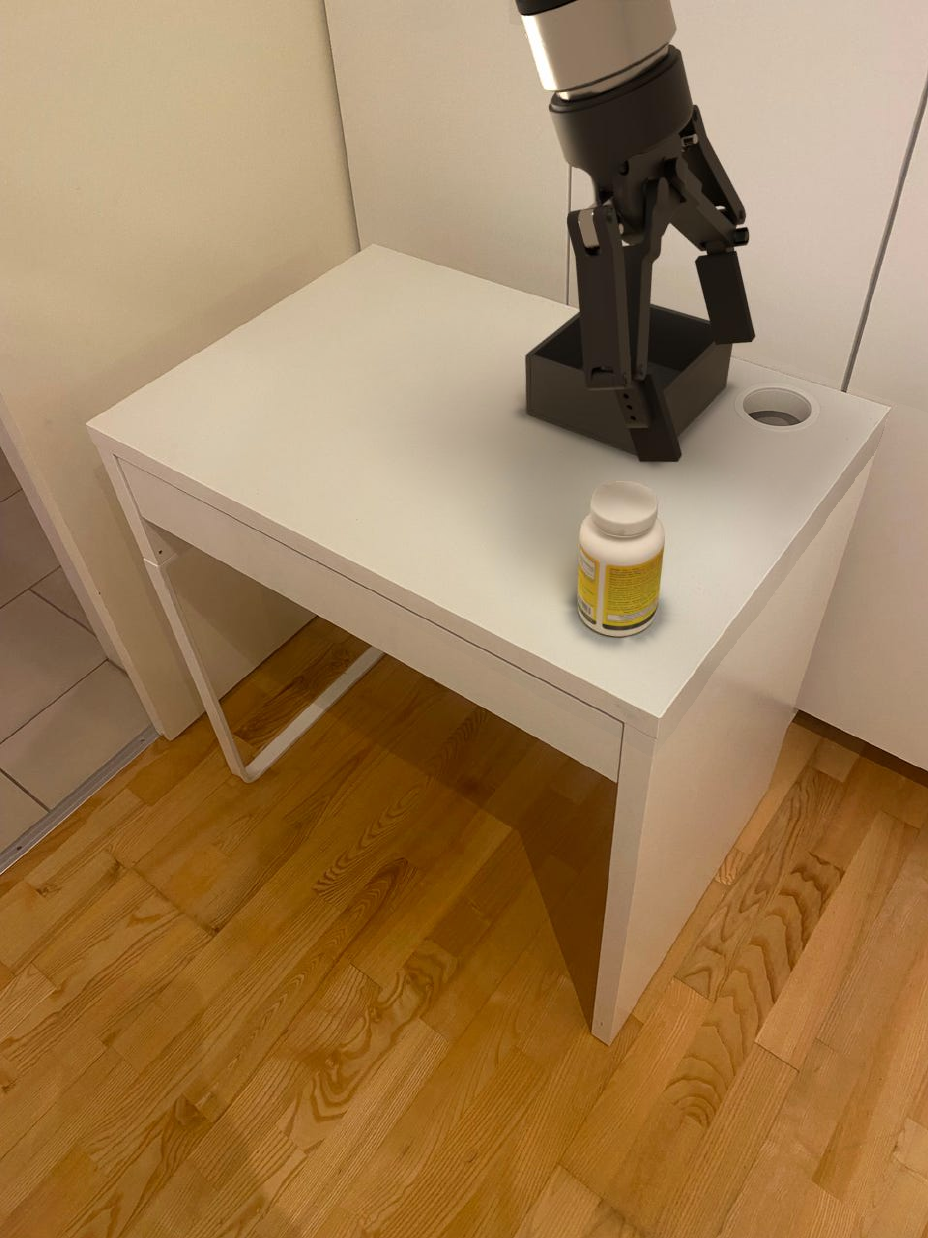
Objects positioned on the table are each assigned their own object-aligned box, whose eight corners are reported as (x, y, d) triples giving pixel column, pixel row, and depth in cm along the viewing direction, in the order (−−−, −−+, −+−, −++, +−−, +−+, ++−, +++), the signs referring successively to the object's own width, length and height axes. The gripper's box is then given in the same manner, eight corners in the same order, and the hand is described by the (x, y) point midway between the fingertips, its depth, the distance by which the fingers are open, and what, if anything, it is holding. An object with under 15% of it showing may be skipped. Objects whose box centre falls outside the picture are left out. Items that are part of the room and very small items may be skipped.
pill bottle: (669, 599, 75) (684, 489, 67) (635, 650, 72) (646, 541, 64) (598, 572, 78) (604, 463, 70) (562, 621, 74) (564, 512, 66)
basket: (726, 387, 94) (735, 327, 90) (653, 461, 87) (659, 401, 82) (602, 347, 101) (605, 289, 96) (525, 413, 94) (524, 354, 89)
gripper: (641, 2, 61) (714, 303, 74) (441, 189, 48) (572, 513, 61) (755, -35, 56) (812, 292, 69) (567, 161, 44) (680, 518, 56)
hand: (700, 396), depth 65 cm, fingers open, 13 cm apart
